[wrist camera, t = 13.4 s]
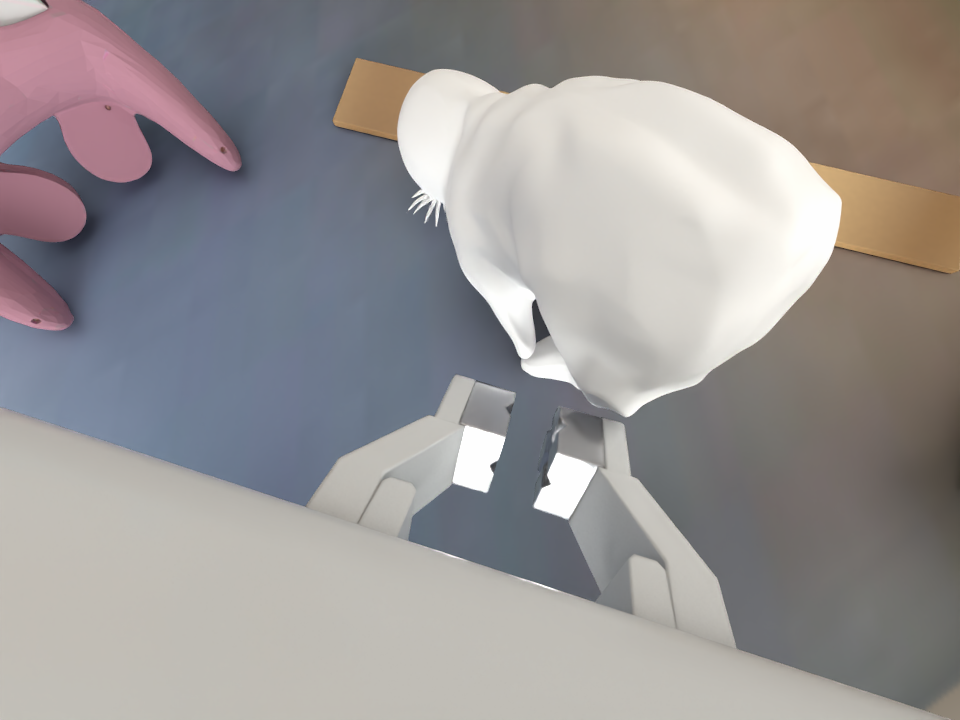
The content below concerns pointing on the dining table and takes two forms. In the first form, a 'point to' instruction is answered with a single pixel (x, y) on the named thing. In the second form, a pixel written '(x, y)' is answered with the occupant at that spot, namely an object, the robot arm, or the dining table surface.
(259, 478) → the dining table surface
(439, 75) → the white sculpture
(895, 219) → the brass ruler
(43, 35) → the pink animal figurine
